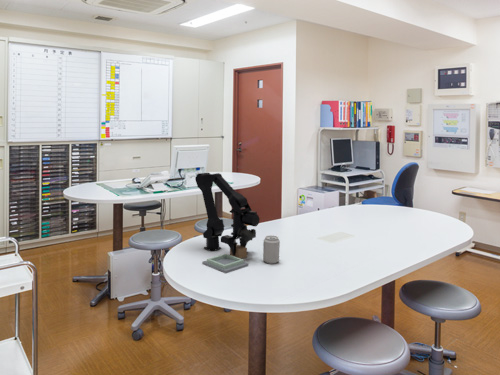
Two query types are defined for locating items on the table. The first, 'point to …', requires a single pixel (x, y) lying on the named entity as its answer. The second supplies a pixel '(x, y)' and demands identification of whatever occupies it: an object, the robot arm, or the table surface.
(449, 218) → the table surface
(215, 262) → the grey tray
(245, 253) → the brown rectangular block
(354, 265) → the table surface
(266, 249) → the can
